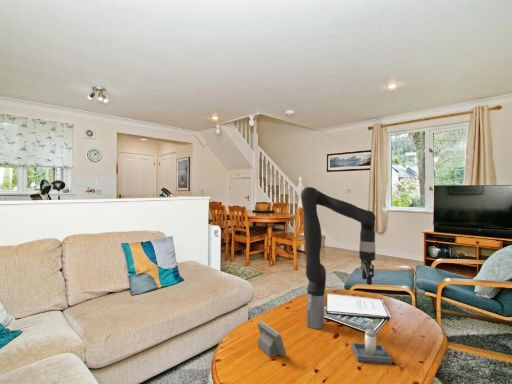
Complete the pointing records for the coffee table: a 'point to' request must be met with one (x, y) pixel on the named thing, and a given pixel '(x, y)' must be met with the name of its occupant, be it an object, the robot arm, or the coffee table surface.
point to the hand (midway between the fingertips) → (366, 281)
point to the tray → (379, 358)
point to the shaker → (370, 342)
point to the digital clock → (270, 340)
